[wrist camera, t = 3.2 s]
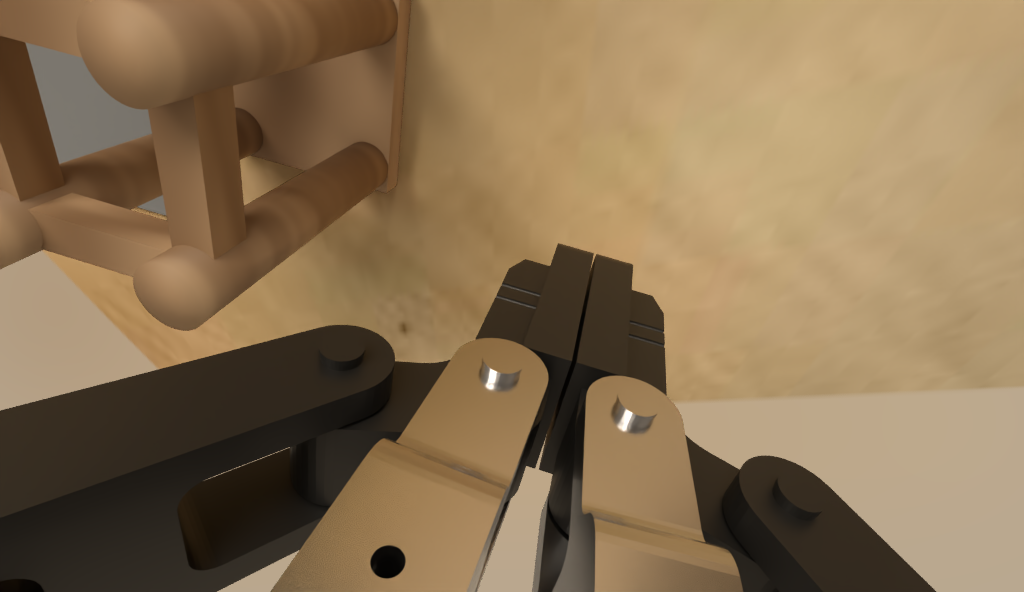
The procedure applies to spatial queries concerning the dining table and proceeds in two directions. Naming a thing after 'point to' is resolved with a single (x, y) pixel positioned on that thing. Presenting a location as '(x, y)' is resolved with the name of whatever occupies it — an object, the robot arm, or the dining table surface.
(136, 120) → the mat
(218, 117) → the wooden dowel frame
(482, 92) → the dining table surface
